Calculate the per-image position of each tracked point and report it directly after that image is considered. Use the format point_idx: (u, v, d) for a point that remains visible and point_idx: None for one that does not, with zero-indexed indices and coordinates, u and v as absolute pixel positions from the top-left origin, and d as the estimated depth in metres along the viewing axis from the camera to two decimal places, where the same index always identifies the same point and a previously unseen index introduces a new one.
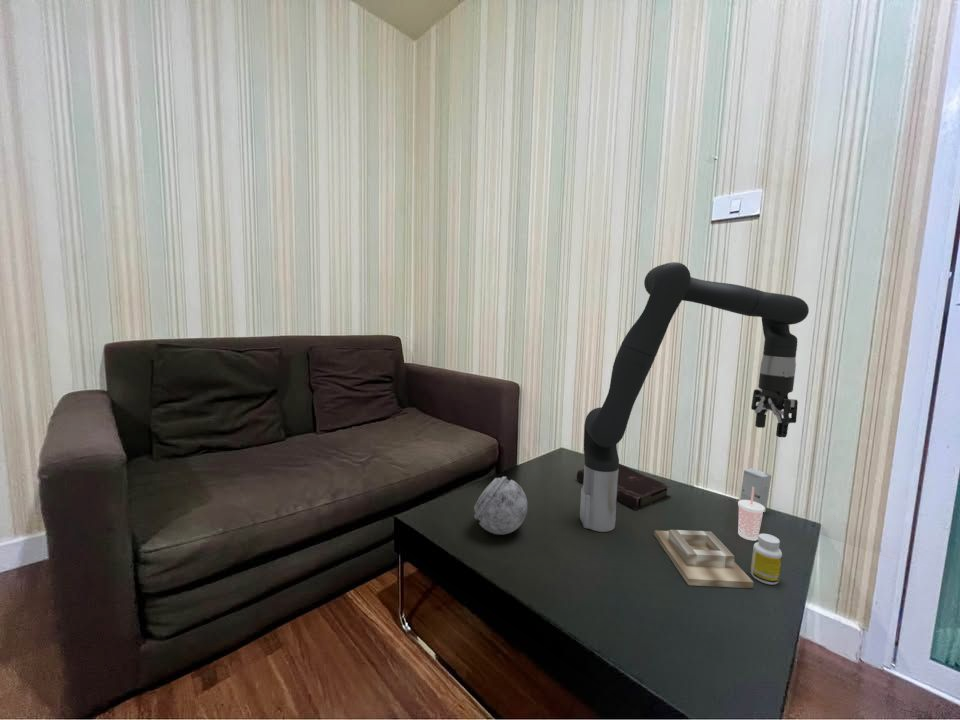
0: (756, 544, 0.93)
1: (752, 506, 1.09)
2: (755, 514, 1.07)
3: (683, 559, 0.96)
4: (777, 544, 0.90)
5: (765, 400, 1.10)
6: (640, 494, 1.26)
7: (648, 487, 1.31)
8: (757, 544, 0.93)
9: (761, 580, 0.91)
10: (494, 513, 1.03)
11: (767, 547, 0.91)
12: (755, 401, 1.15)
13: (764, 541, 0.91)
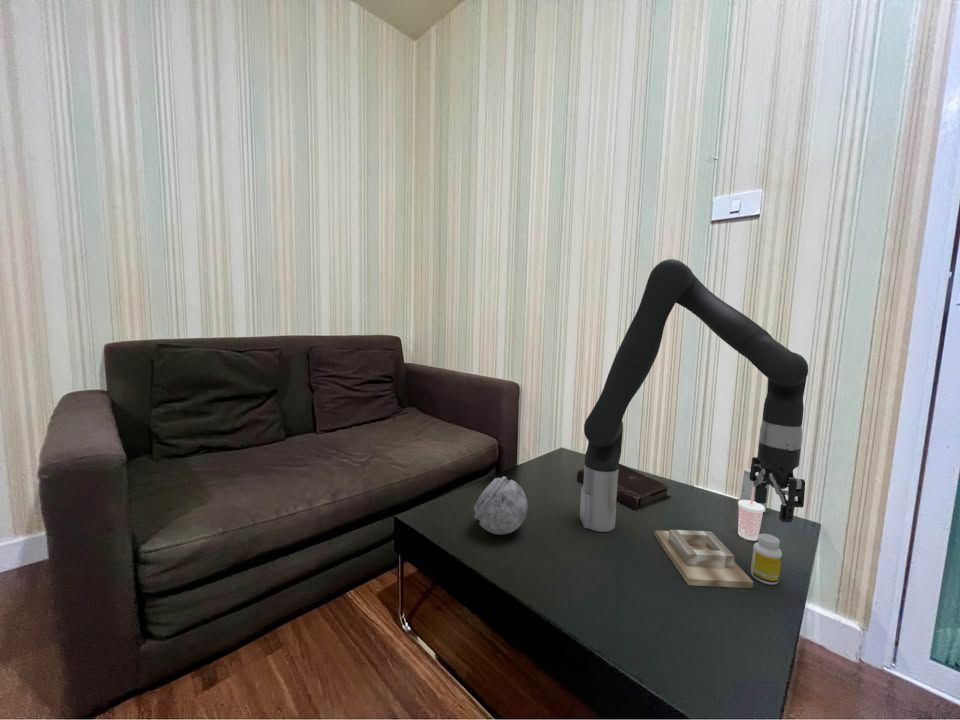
0: (756, 544, 0.93)
1: (752, 506, 1.09)
2: (755, 514, 1.07)
3: (683, 559, 0.96)
4: (777, 544, 0.90)
5: (766, 474, 0.91)
6: (640, 494, 1.26)
7: (648, 487, 1.31)
8: (757, 544, 0.93)
9: (761, 580, 0.91)
10: (494, 513, 1.03)
11: (767, 547, 0.91)
12: (754, 471, 0.96)
13: (764, 541, 0.91)
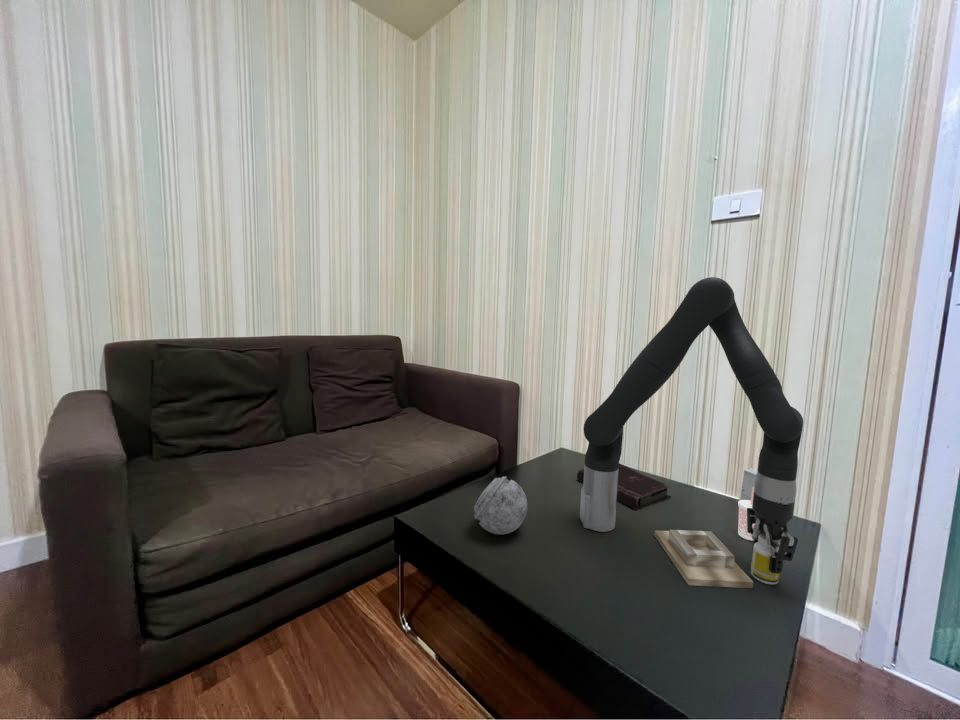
0: (756, 544, 0.93)
1: None
2: None
3: (683, 559, 0.96)
4: None
5: (761, 523, 0.93)
6: (640, 494, 1.26)
7: (648, 487, 1.31)
8: (757, 544, 0.93)
9: (761, 580, 0.91)
10: (494, 513, 1.03)
11: (767, 547, 0.91)
12: (750, 522, 0.97)
13: (764, 541, 0.91)
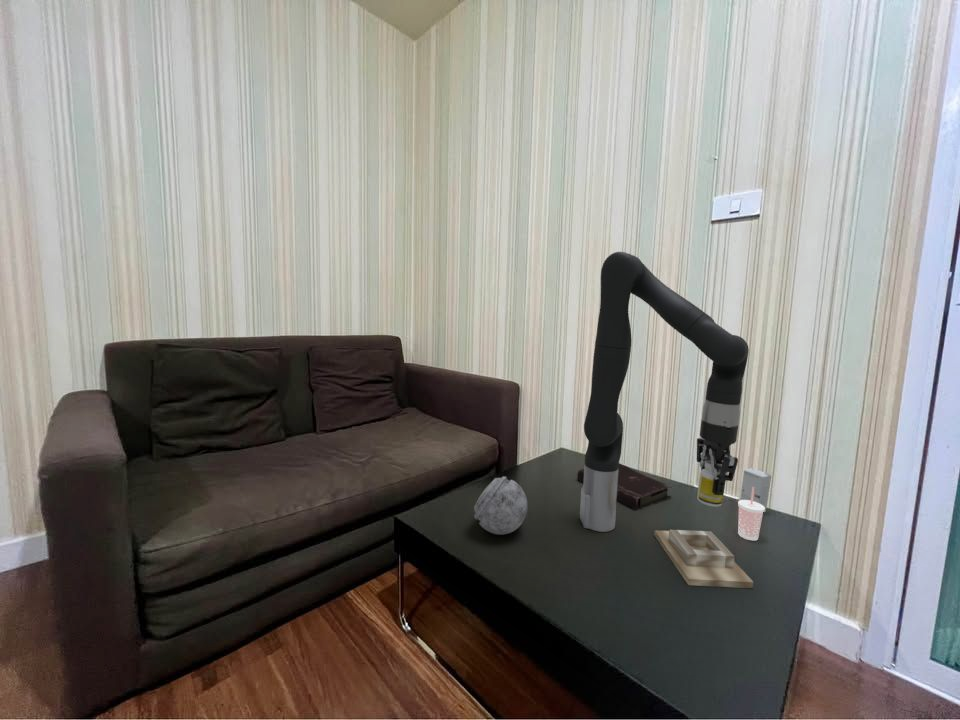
0: (702, 470, 0.97)
1: (752, 506, 1.09)
2: (755, 514, 1.07)
3: (683, 559, 0.96)
4: None
5: (707, 449, 0.97)
6: (640, 494, 1.26)
7: (648, 487, 1.31)
8: (703, 469, 0.97)
9: (705, 502, 0.96)
10: (494, 513, 1.03)
11: (712, 471, 0.95)
12: (699, 452, 1.01)
13: (709, 465, 0.95)
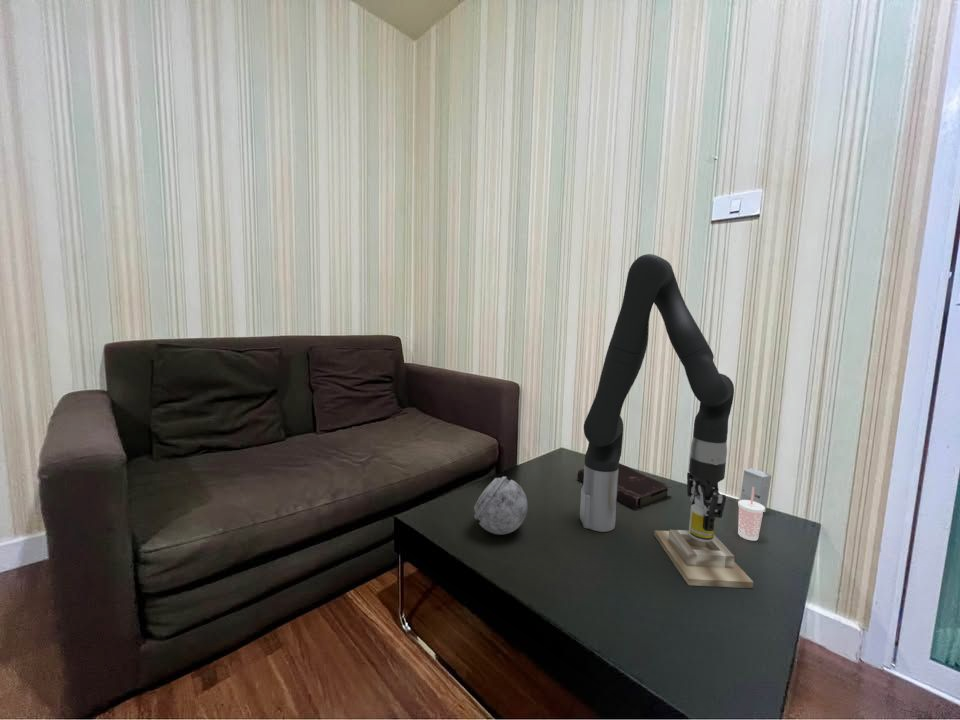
0: (693, 505, 0.99)
1: (752, 506, 1.09)
2: (755, 514, 1.07)
3: (683, 559, 0.96)
4: None
5: (696, 485, 0.98)
6: (639, 494, 1.26)
7: (649, 487, 1.31)
8: (694, 505, 0.99)
9: (696, 538, 0.97)
10: (494, 513, 1.03)
11: (702, 507, 0.97)
12: (690, 486, 1.03)
13: (699, 501, 0.97)
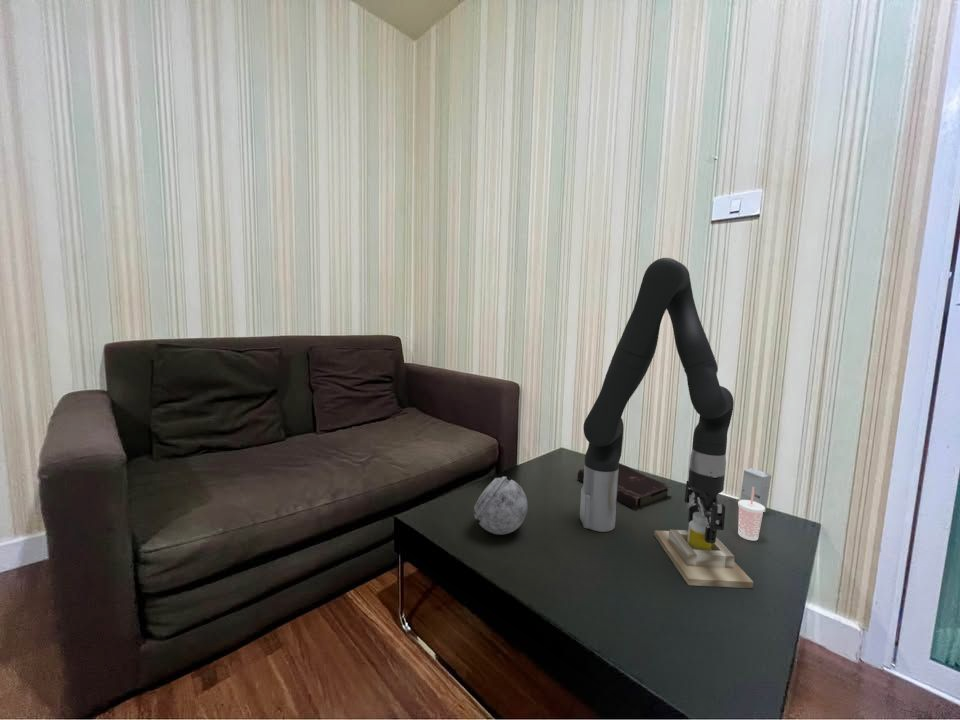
0: (691, 522, 1.00)
1: (752, 506, 1.09)
2: (755, 514, 1.07)
3: (683, 559, 0.96)
4: None
5: (695, 497, 0.99)
6: (639, 494, 1.26)
7: (649, 487, 1.31)
8: (692, 522, 1.00)
9: None
10: (494, 513, 1.03)
11: (699, 524, 0.98)
12: (688, 494, 1.04)
13: (697, 518, 0.98)
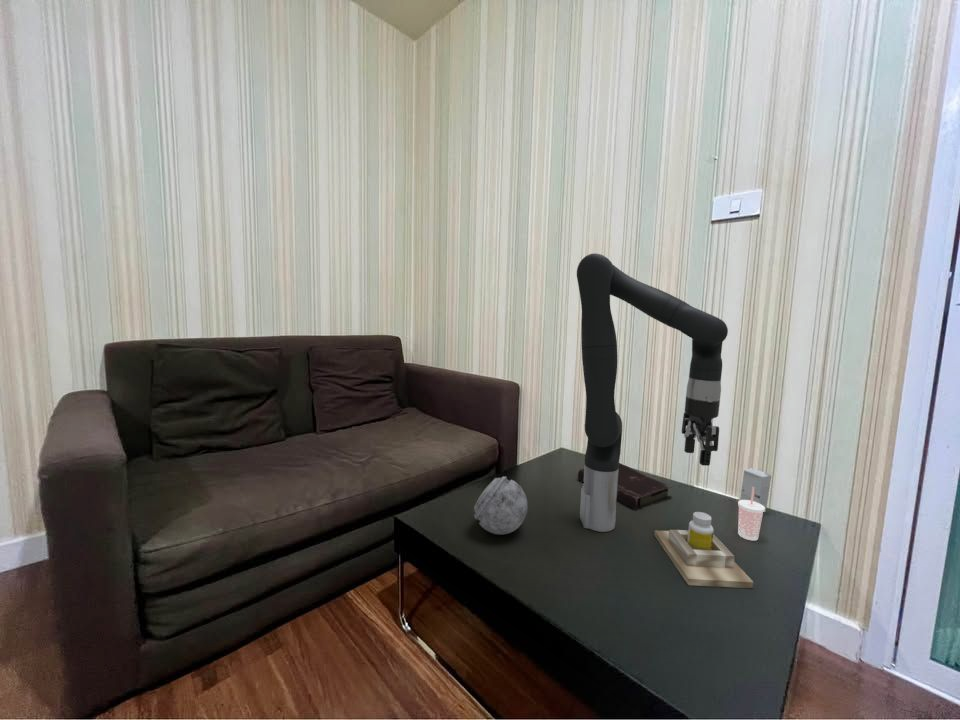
0: (691, 522, 1.00)
1: (752, 506, 1.09)
2: (755, 514, 1.07)
3: (683, 559, 0.96)
4: (708, 521, 0.97)
5: (691, 425, 1.03)
6: (639, 494, 1.26)
7: (649, 487, 1.31)
8: (692, 522, 1.00)
9: None
10: (494, 513, 1.03)
11: (699, 524, 0.98)
12: (685, 425, 1.08)
13: (697, 518, 0.98)
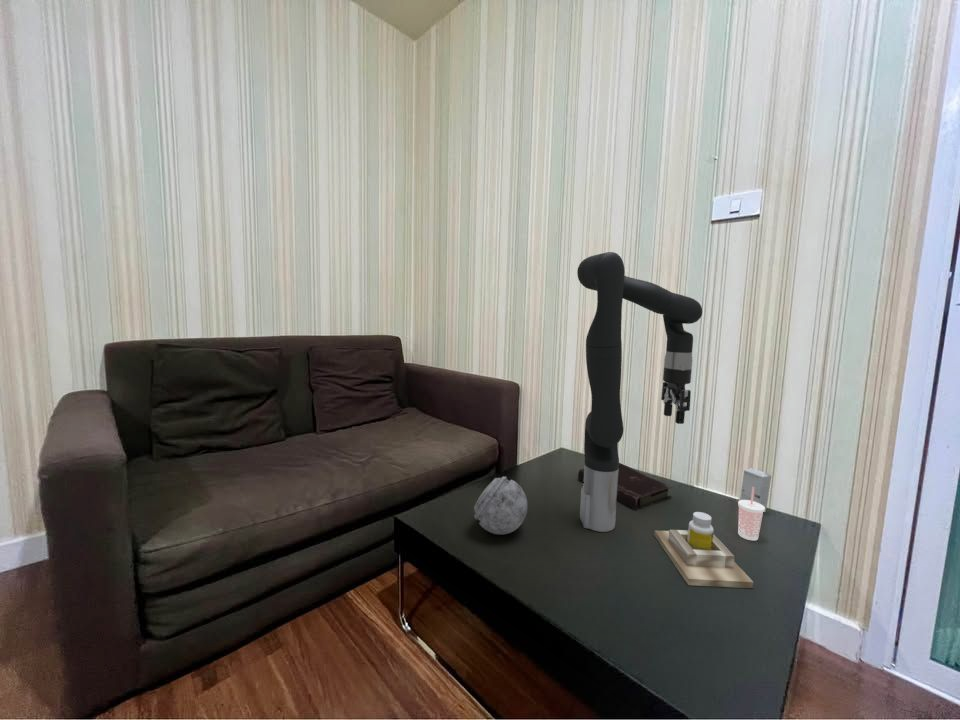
0: (691, 522, 1.00)
1: (752, 506, 1.09)
2: (755, 514, 1.07)
3: (683, 559, 0.96)
4: (708, 521, 0.97)
5: (669, 391, 1.23)
6: (639, 494, 1.26)
7: (649, 487, 1.30)
8: (692, 522, 1.00)
9: None
10: (494, 513, 1.03)
11: (699, 524, 0.98)
12: (664, 392, 1.28)
13: (697, 518, 0.98)
